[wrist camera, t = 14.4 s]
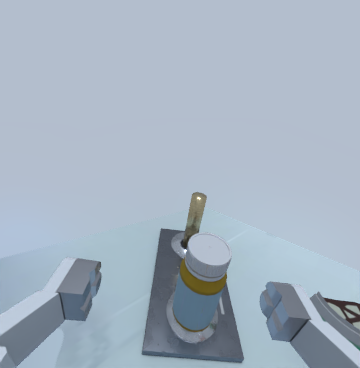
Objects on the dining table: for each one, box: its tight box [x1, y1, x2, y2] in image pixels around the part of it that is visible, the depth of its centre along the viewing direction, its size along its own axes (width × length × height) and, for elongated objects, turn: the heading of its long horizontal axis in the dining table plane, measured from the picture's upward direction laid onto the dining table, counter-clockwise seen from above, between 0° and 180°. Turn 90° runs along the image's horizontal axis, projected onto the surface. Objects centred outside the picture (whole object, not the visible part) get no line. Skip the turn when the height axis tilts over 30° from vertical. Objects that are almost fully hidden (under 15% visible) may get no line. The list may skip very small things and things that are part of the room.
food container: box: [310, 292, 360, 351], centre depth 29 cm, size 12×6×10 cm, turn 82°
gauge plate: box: [142, 192, 244, 363], centre depth 37 cm, size 15×27×15 cm, turn 179°
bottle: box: [172, 232, 232, 332], centre depth 30 cm, size 7×7×15 cm
